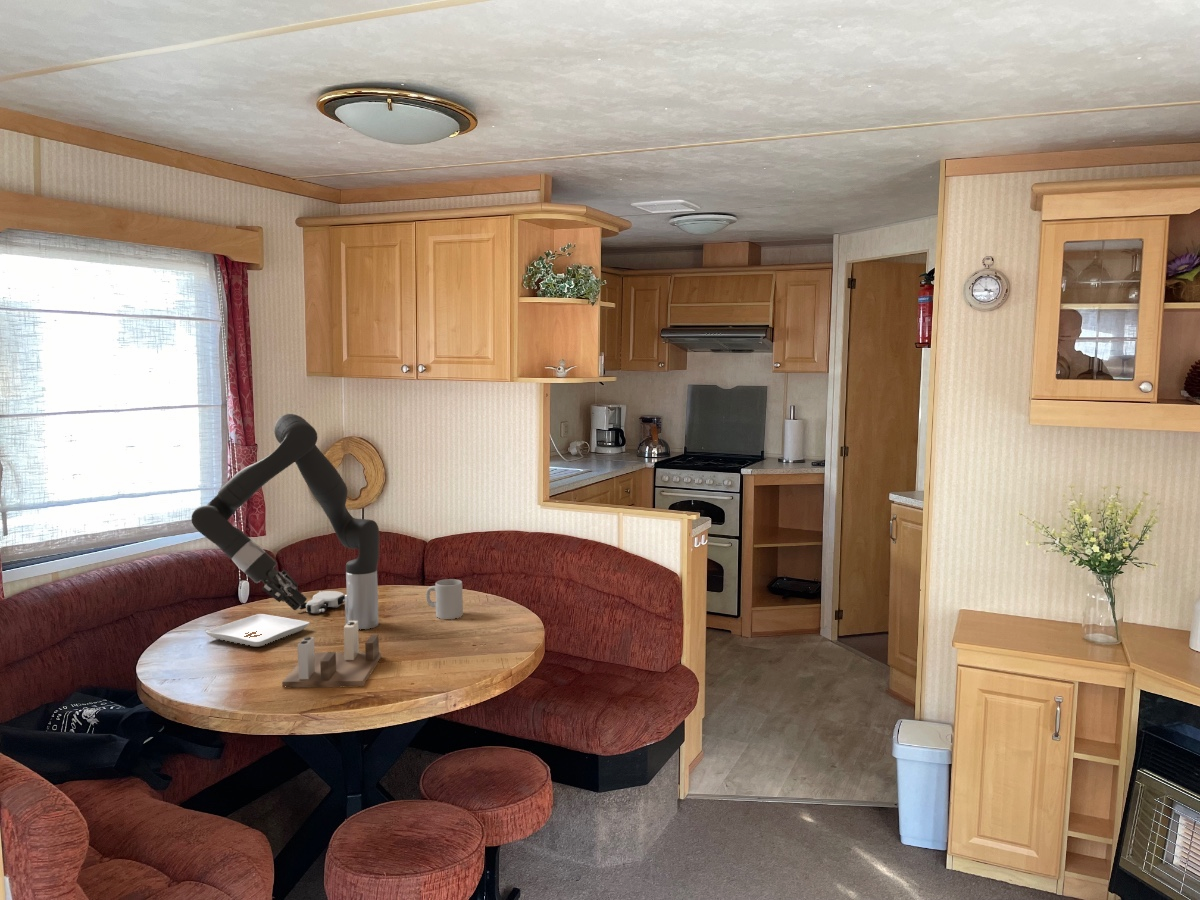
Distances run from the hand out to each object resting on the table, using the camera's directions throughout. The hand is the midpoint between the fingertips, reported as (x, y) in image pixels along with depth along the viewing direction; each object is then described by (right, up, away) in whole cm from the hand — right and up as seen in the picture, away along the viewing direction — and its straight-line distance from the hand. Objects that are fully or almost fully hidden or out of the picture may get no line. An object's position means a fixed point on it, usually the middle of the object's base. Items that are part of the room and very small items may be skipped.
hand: (301, 604), depth 240 cm
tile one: (+13, -14, +2) cm, 19 cm away
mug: (+31, -12, +46) cm, 56 cm away
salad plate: (-21, -14, +25) cm, 36 cm away
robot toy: (-11, -11, +53) cm, 55 cm away
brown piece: (+9, -17, -5) cm, 20 cm away
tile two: (+6, -16, -12) cm, 21 cm away
